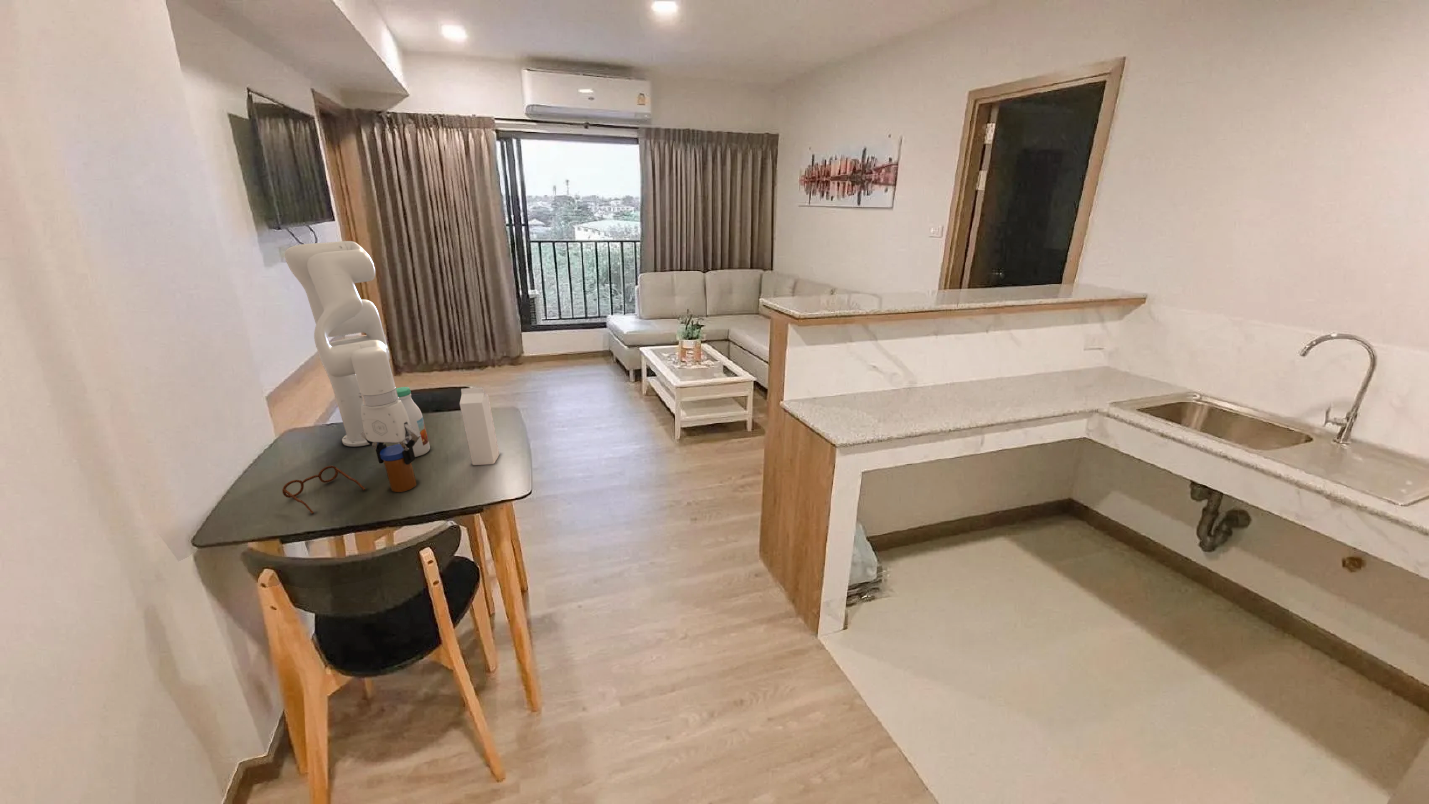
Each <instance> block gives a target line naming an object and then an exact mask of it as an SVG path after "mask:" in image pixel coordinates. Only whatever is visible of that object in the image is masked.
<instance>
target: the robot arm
mask: <svg viewBox="0 0 1429 804" xmlns="http://www.w3.org/2000/svg"><path fill="white" fill-rule="evenodd" d="M284 258H285V261H286V265H287V267H288V268H289V270H290V271H291V274H292V275H293V276H294V277H295V278H296V280H297V281H298V282H299V284H300V285H301V286H302V288H303V289H304V291H305V294H306V296H307V300H308V304H309V306H310V310H311V313H312V317H313V319H314V320H313V321H314V322H315V326H314V331H313V339H314V344H315V348H316V351H317V352H318V357H319V361H320V362H321V365H322V366H323V368H324V371H325V372H326V374H327V377H328V380H329V382H330V385H331V389H332V391H333V394H334V398H335V401H336V404H337V407H338V411H339V414H340V417H341V420H342V425H343V428H344V430H345V435H344V436H343V437H341V438H342V439H341V441H342V444H343V445H344V446H347V447H352V448H353V447H354V448H355V447H364V446H369V445H370V446H371V449H372V450H375V454H376V457H377V461H378V463H379V464H384V461H383V460H382V459H381V457H380V451H381V450H382V449H384V448H386V447H388V446H387V444H400V445H401V446H402V448H403V449H404V450H403V451H402V453H403V457H404V461H405V464H406V465H409V464H410V463H413V462H414V461H415V460H416V457H415V455H414V451H413V446H414V444H415V443H416V442H417V440H418V439H419V438H420V436H421V435H420V433H418V432H417V431H416V430H414V429H413V428H412V427H411V424H410V421H409V418H408V415H407V412H406V410H405V408H404V405H403V403H402V402H401V400H399V398H398V394H397V390H396V388H397V387H396V383H395V379H394V375H393V372H392V367H391V364H390V363H391V362H390V359H391V355H390V350H389V347H388V344H387V343H388V342H387V340H386V339H387V338H386V335H385V331H384V328H383V324H382V320H381V316H380V313H379V311H378V308H377V306H375V304H374V303H373V302H372V301H371V300H368V299H365V298H364V299H361V297H360V294H359V292H358V290H357V287H356V285H355V284H359V283H367V282H372V281H373V280H374V279H375V278H376V267H375V264H374V261H373V259H372V258H371V256H370V254H369V253H368V252H367V251H366V249H364V248H363V247H362V246H361V245H360V244H358V243H357V242H355V241H353V240H343V241H342V240H341V241H330V242H329V241H327V242H314V243H313V242H312V243H303V244H296V245H293V246H290V247H288V248H287V249H286V250H285V251H284ZM361 333H364V334H365V335H362V336H356V337H350V338H344V339H338V340H334V341H331V342H330V341H329V338H335V337H341V336H342V337H343V336H348V335H355V334H361ZM410 435H411V437H412V438H410V437H409V436H410ZM404 440H406V442H407V444H406V443H405V441H404ZM384 443H385V444H384Z"/></svg>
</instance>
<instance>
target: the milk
mask: <svg viewBox="0 0 1429 804" xmlns="http://www.w3.org/2000/svg"><path fill="white" fill-rule="evenodd" d="M460 392H461V393H460V394H461V396H460V401H459V407H460V412H461V417H462V422H463V426H464V432H465V436H466V440H467V446H468V450H469V455H470V461H471V464H472V465H471V466H482V465H494V464H495V463H496V462H497V460H498V458H499V456H500V449H499V444H498V439H497V434H496V429H495V423H494V418H493V417H494V416H493V413H492V408H491V403H490V396H489V394H488V393H486V392H485V389H484V388H483V387H467V388H461V389H460Z"/></svg>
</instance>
